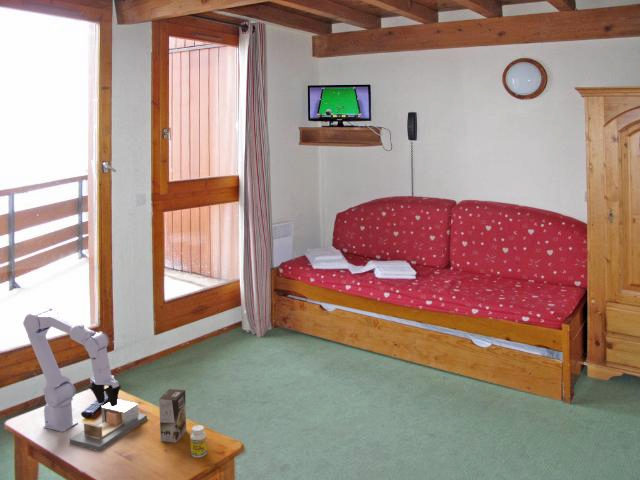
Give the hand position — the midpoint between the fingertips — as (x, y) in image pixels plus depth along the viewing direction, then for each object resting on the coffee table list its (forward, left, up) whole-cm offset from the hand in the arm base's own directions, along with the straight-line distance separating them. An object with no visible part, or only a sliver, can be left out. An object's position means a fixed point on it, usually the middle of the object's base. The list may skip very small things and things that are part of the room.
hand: (107, 404), depth 231 cm
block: (-3, +7, -10) cm, 13 cm away
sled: (-3, +2, -11) cm, 11 cm away
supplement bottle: (+36, +2, -13) cm, 38 cm away
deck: (-3, +3, -12) cm, 13 cm away
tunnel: (-3, +9, -11) cm, 14 cm away
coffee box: (+21, +9, -13) cm, 26 cm away
